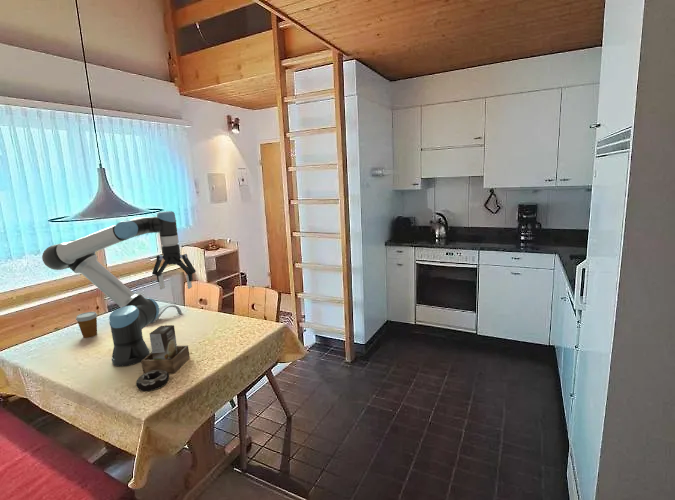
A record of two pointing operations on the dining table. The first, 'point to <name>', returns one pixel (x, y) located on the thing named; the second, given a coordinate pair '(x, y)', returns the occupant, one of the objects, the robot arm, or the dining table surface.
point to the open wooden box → (166, 362)
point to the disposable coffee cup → (88, 324)
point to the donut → (152, 380)
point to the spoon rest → (165, 309)
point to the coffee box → (163, 343)
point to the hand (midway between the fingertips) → (176, 288)
